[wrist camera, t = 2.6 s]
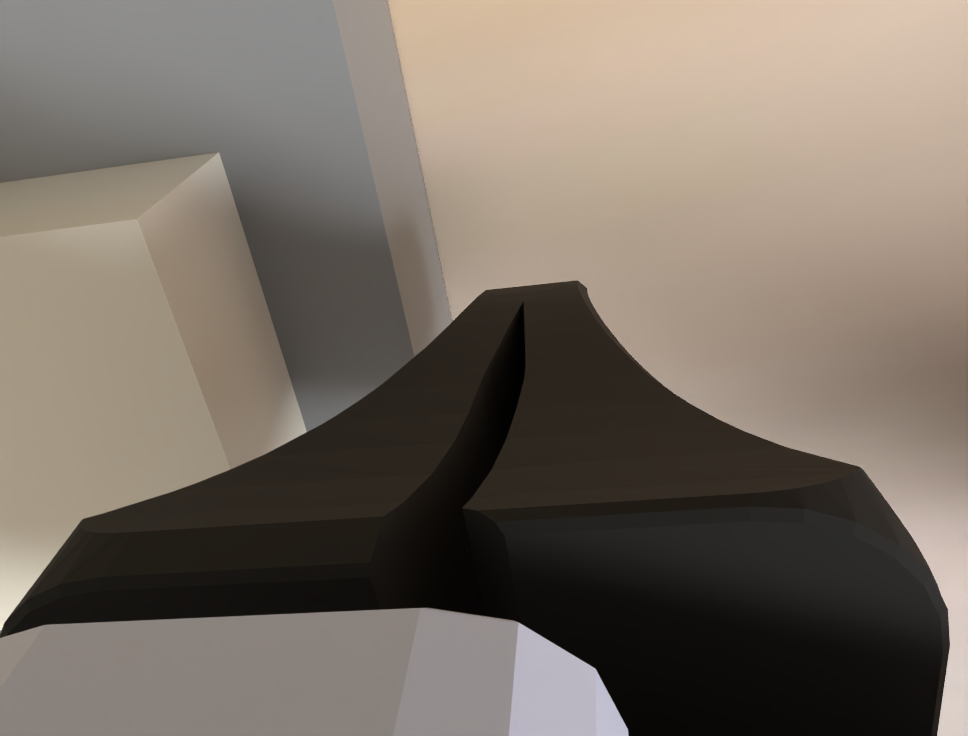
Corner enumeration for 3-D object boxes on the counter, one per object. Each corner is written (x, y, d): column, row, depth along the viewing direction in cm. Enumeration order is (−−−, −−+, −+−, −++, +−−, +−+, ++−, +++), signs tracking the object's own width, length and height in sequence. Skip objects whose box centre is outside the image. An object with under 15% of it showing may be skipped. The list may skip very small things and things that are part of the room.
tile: (329, 504, 15) (286, 616, 12) (8, 527, 16) (-84, 633, 13) (218, 152, 12) (137, 219, 10) (-168, 206, 13) (-321, 278, 11)
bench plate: (492, 519, 18) (476, 628, 16) (60, 547, 20) (-18, 649, 17) (360, -134, 12) (302, -131, 10) (-235, -19, 14) (-417, 9, 12)
